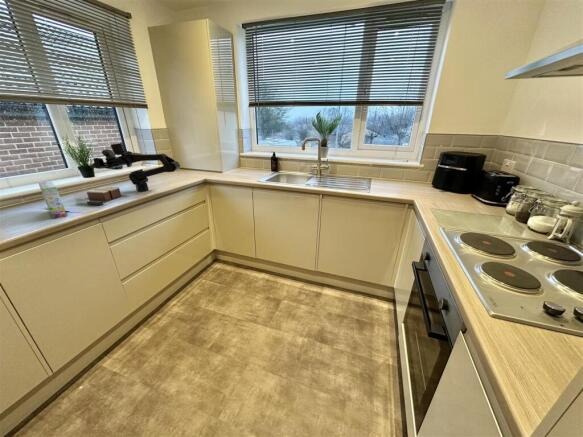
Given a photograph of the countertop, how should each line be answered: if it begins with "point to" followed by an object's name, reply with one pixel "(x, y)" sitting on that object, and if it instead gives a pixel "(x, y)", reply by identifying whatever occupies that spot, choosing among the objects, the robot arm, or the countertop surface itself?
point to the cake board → (108, 199)
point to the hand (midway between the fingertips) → (97, 166)
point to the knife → (89, 202)
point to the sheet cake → (111, 191)
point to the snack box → (52, 199)
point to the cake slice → (98, 194)
